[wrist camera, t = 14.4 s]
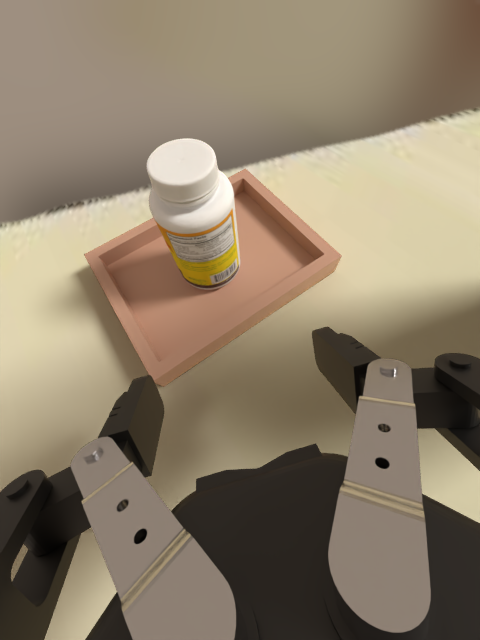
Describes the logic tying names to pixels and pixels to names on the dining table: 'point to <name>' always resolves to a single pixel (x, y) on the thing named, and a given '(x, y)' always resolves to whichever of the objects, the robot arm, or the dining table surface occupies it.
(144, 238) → the tray
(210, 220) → the supplement bottle
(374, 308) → the dining table surface
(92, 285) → the dining table surface
